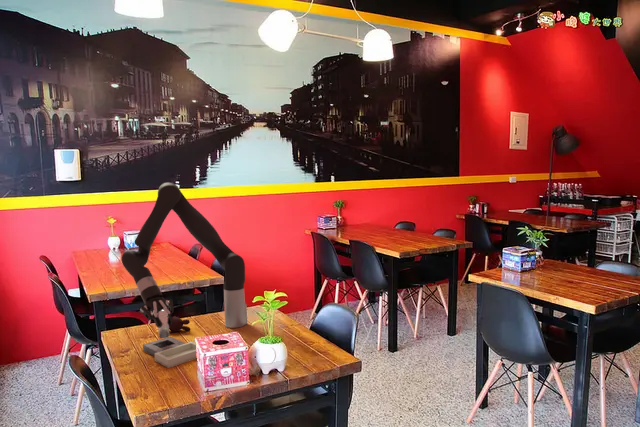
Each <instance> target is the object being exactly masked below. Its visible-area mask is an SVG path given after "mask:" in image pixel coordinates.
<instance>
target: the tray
mask: <svg viewBox="0 0 640 427" xmlns="http://www.w3.org/2000/svg"><path fill="white" fill-rule="evenodd" d="M185 343H186V344H182V345H179V346H176V347H173V348H170V349H167V350H163V351H160V352H157V353H154V354H155V357H154V361H155V362H156V363H158V364H160V365H162V366H164V367H165V368H167V369H170V368H173V367H177V366H178V365H181V364H184V363H188V362H190V361H192V360H196V359H197V358H196V342H194V341H188V342H185Z"/></svg>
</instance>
